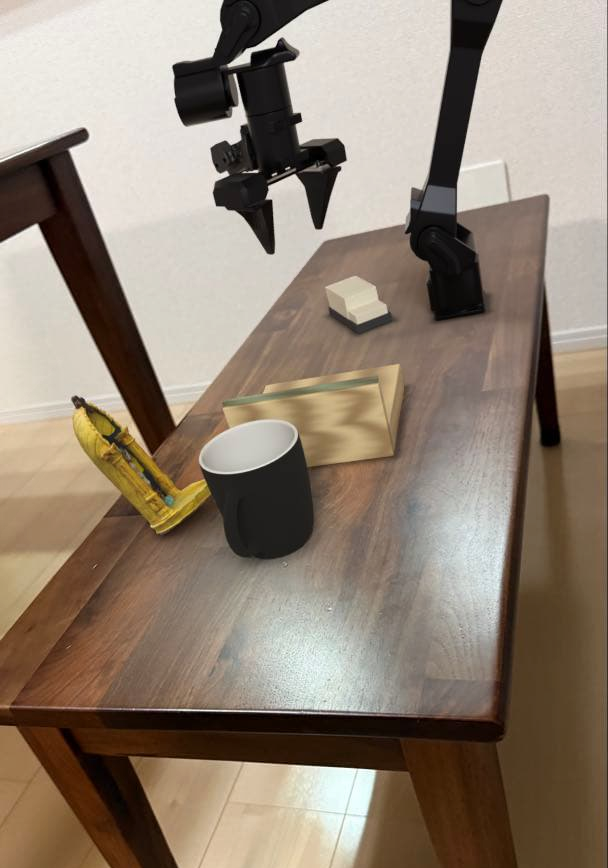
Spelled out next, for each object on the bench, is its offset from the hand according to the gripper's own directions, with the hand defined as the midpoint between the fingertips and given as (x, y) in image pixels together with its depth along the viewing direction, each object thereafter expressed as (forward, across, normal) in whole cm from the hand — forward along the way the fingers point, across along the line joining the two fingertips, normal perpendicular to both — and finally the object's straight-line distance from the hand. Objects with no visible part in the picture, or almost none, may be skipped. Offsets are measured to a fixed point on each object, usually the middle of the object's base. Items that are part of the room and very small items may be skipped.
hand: (295, 241), depth 109 cm
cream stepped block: (+13, -7, +3) cm, 15 cm away
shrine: (+14, +40, +17) cm, 46 cm away
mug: (+13, +39, +30) cm, 51 cm away
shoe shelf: (+13, +19, +20) cm, 31 cm away
